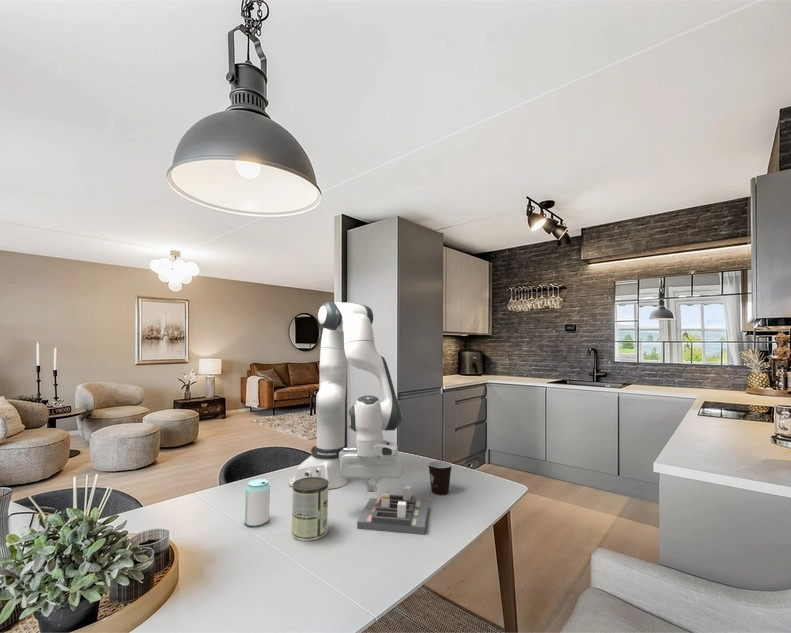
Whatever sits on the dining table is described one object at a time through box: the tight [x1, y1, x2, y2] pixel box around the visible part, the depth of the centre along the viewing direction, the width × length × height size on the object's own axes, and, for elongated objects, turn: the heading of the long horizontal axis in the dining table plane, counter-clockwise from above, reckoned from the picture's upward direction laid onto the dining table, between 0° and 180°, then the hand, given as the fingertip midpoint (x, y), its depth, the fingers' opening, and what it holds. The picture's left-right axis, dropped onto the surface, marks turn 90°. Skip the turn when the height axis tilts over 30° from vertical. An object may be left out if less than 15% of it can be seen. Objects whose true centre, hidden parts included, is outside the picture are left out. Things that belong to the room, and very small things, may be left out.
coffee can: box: [291, 477, 329, 542], centre depth 114 cm, size 10×10×14 cm
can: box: [244, 478, 271, 527], centre depth 119 cm, size 7×7×12 cm
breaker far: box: [402, 485, 412, 501], centre depth 129 cm, size 2×2×5 cm
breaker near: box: [397, 501, 406, 519], centre depth 117 cm, size 2×2×5 cm
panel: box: [356, 494, 429, 535], centre depth 123 cm, size 20×18×4 cm
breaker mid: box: [380, 491, 391, 508], centre depth 124 cm, size 2×2×5 cm
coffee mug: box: [428, 460, 452, 496], centre depth 147 cm, size 12×9×10 cm
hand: (372, 491), depth 125 cm, fingers closed
